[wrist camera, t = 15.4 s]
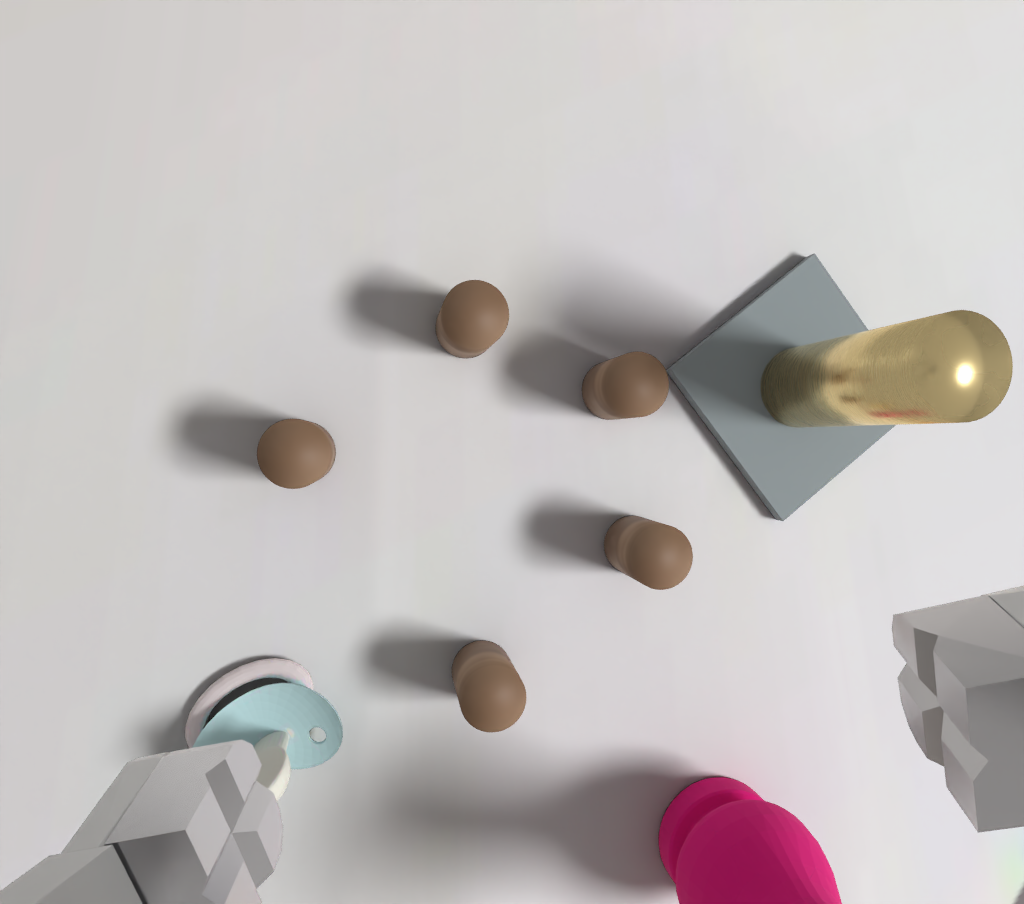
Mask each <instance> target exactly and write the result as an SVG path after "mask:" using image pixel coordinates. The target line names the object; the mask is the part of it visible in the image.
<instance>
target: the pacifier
mask: <svg viewBox="0 0 1024 904" xmlns="http://www.w3.org/2000/svg"><path fill="white" fill-rule="evenodd" d="M263 678H281V679H283V680H285V681H288V682H289V683H275V684H270V685H265V686H262V687H259V688H256V689H254V690H251V691H249V692H247V693H245V694H243V695H242V696H240V697H238V698H237V699H235V700H234V701H232V702H231V703H229V704H228V705H227V706H226V707H224V708H223V709H222V710H221V711H219V712H218V713H217V714H216V715H215V716H214V717H213V718H212V719H211V721H210V722H209V723H208V724H207V721H208V718H209V715H210V713H211V711H212V710H213V708H214V707H215V706H216V705H217V703H218V702H219V701H220V700H221V699H222V698H223V697H225V696H226V695H227V694H229V693H230V692H231V691H233V690H234V689H236V688H238V687H240V686H242V685H243V684H245V683H248V682H251V681H254V680H257V679H263ZM314 727H319V728H321V729H323V730H324V731H325V733H326V739H325V740H324V741H322V742H316V741H314V740H312V739H311V737H310V735H309V731H310V730H311V729H312V728H314ZM342 737H343V731H342V723H341V720H340V717H339V715H338V713H337V711H336V710H335V709H334V707H333V706H332V705H331V704H330V703H329V701H328V700H327V699H326V698H324V697H323V696H322V695H320V694H319V693H317V692H316V691H314V690H313V682H312V679H311V677H310V674H309V673H308V672H307V671H306V670H305V669H304V668H303V667H302V666H301V665H300V664H298V663H295V662H293V661H291V660H287V659H278V658H271V659H263V660H257V661H254V662H251V663H248V664H245V665H242V666H240V667H238V668H236V669H234V670H232V671H230V672H228V673H226V674H225V675H223V676H222V677H221V678H219V679H218V680H217V681H215V682H214V683H213V684H212V685H210V686H209V687H208V689H207V690H206V691H205V692H204V693H203V694H202V695H201V696H200V697H199V698H198V700H197V701H196V703H195V705H194V706H193V708H192V710H191V711H190V713H189V716H188V720H187V723H186V726H185V739H186V742H187V744H188V747H189V748H194V747H200V746H206V745H212V744H218V743H224V742H230V741H235V740H241V739H242V740H244V741H246V742H248V743H251V744H252V745H253V747H254V749H255V751H256V754H257V756H258V758H259V760H260V762H261V764H262V766H261V769H260V772H259V775H258V778H257V782H259V783H260V784H262V785H263V786H265V787H266V788H267V789H269V790H270V791H272V792H273V793H274V795H275V798H276V800H277V801H278V800H279V799H280V797H281V796H282V795H283V793H284V791H285V789H286V787H287V785H288V782H289V779H290V772H291V769H304V768H310V767H314V766H317V765H319V764H322V763H324V762H325V761H327V760H328V759H330V758H331V757H332V756H333V755H334V754H335V753H336V752H337V751H338V749H339V747H340V745H341V742H342Z"/></svg>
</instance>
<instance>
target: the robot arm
mask: <svg viewBox="0 0 1024 904" xmlns="http://www.w3.org/2000/svg"><path fill="white" fill-rule="evenodd" d="M892 633H893V642H894V646H895V648H896V649H897V650H898V652H899V653H900V654H901V656H902V657H903V658H904V660H905V661H906V662H907V663H906V665H905V667H904V668H903V670H902V671H901V673H900V675H899V676H898V684H899V691H900V697H901V703H902V706H903V709H904V713H905V716H906V719H907V722H908V725H909V727H910V729H911V731H912V734H913V736H914V738H915V740H916V742H917V743H918V745H919V746H920V748H921V749H922V751H923V753H924V754H925V756H926V757H927V758H928V759H930V760H932V761H934V762H936V763H938V764H940V765H942V766H944V768H945V777H946V786H947V788H948V790H949V791H950V792H951V794H952V795H953V797H954V798H955V800H956V801H957V803H958V804H959V806H960V807H961V808H962V810H963V811H964V813H965V814H966V816H967V817H968V819H969V820H970V821H971V823H972V824H973V826H974V827H975V829H976V830H977V832H985V831H993V830H1000V829H1008V828H1015V827H1023V826H1024V586H1020V587H1016V588H1012V589H1007V590H1003V591H998V592H994V593H990V594H985V595H981V596H979V597H975V598H970V599H965V600H961V601H956V602H951V603H947V604H942V605H937V606H932V607H928V608H923V609H918V610H914V611H909V612H904V613H900V614H895V615H893V623H892ZM261 766H262V764H261V762H260V760H259V758H258V756H257V754H256V751H255V749H254V747H253V745H252V744H251V743H248V742H246V741H244V740H242V739H241V740H235V741H230V742H224V743H218V744H212V745H206V746H200V747H194V748H189V749H183V750H177V751H173V752H164V753H160V754H155V755H150V756H145V757H140V758H137V759H135V760H132V761H130V762H128V763H127V764H126V765H125V766H124V768H123V769H122V770H121V772H120V773H119V775H118V776H117V777H116V779H115V780H114V781H113V783H112V784H111V786H110V787H109V788H108V790H107V791H106V792H105V794H104V795H103V796H102V798H101V799H100V801H99V802H98V803H97V805H96V806H95V807H94V809H93V810H92V812H91V813H90V814H89V816H88V817H87V818H86V820H85V821H84V822H83V824H82V825H81V827H80V828H79V829H78V831H77V832H76V833H75V835H74V836H73V837H72V839H71V840H70V842H69V843H68V844H67V846H66V847H65V848H64V850H63V851H62V853H61V854H57V855H51V856H48V857H47V858H45V859H44V860H43V861H41V862H40V863H39V864H37V865H36V866H34V867H33V868H32V869H30V870H29V871H27V872H26V873H25V874H23V875H22V876H21V877H19V878H18V879H16V880H15V881H14V882H12V883H11V884H9V885H8V886H7V887H5V888H4V889H2V890H1V891H0V904H262V901H261V898H260V896H259V894H258V892H257V888H258V887H259V886H260V885H261V884H262V883H263V882H264V881H265V880H266V879H267V878H268V877H269V876H270V875H271V874H272V873H273V872H274V870H275V868H276V865H277V862H278V859H279V857H280V854H281V850H282V837H283V823H282V818H281V812H280V808H279V805H278V803H277V800H276V798H275V795H274V793H273V792H272V791H270V790H269V789H267V788H266V787H265V786H263V785H262V784H260V783H259V782H257V778H258V775H259V772H260V769H261Z"/></svg>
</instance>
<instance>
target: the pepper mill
mask: <svg viewBox="0 0 1024 904" xmlns="http://www.w3.org/2000/svg"><path fill="white" fill-rule="evenodd" d="M659 850H660V856H661V859H662V862H663V864H664V866H665V868H666V870H667V872H668V874H669V875H670V877H671V878H672V880H673V881H674V883H675V884H676V891H677V896H678V900H679V904H842V903H841V899H840V896H839V892H838V889H837V885H836V881H835V878H834V874H833V872H832V869H831V867H830V865H829V863H828V861H827V859H826V856H825V854H824V853H823V851H822V849H821V847H820V845H819V843H818V842H817V840H816V839H815V838H814V837H813V836H812V834H811V833H810V832H809V831H808V829H807V828H806V827H805V826H804V825H803V823H802V822H801V821H799V820H798V819H797V818H796V817H795V816H794V815H793V814H791V813H790V812H788V811H787V810H785V809H783V808H782V807H780V806H778V805H775V804H772V803H770V802H766V801H764V800H763V799H762V798H761V797H760V796H759V795H758V794H757V793H756V792H755V791H753V790H752V789H751V788H750V787H748V786H747V785H745V784H744V783H742V782H740V781H737V780H734V779H731V778H725V777H714V778H707V779H703V780H701V781H698V782H695V783H693V784H691V785H690V786H688V787H687V788H686V789H684V790H683V791H681V792H680V793H679V794H678V795H677V796H676V798H675V799H674V800H673V801H672V802H671V804H670V805H669V807H668V808H667V810H666V812H665V814H664V816H663V819H662V822H661V826H660V830H659Z"/></svg>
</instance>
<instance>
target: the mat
mask: <svg viewBox="0 0 1024 904" xmlns="http://www.w3.org/2000/svg"><path fill="white" fill-rule="evenodd" d="M864 331H868V329H867V328H866V326H865V325H864V323H863V322H862V321H861V319H860V318H859V316H858V315H857V313H856V312H855V311H854V309H853V308H852V306H851V305H850V303H849V302H848V301H847V299H846V298H845V296H844V295H843V293H842V292H841V291H840V289H839V288H838V286H837V285H836V283H835V282H834V281H833V279H832V278H831V276H830V275H829V273H828V272H827V271H826V269H825V268H824V266H823V265H822V263H821V262H820V261H819V259H818V258H817V256H816V255H815V254H812V255H810V256H808V257H806V258H805V259H804V260H802V261H801V262H800V263H799V264H797V265H796V266H795V267H794V268H792V269H791V270H790V271H789V272H787V273H786V274H785V275H784V276H782V277H781V278H780V279H779V280H777V281H776V282H775V283H774V284H772V285H771V286H770V287H769V288H767V289H766V290H765V291H764V292H763V293H761V294H760V295H759V296H758V297H756V298H755V299H754V300H753V301H751V302H750V303H749V304H748V305H746V306H745V307H744V308H743V309H741V310H740V311H739V312H738V313H736V314H735V315H734V316H733V317H731V318H730V319H729V320H728V321H727V322H725V323H724V324H723V325H722V326H720V327H719V328H718V329H717V330H715V331H714V332H713V333H712V334H710V335H709V336H708V337H707V338H705V339H704V340H703V341H702V342H700V343H699V344H698V345H697V346H695V347H694V348H693V349H692V350H691V351H689V352H688V353H687V354H686V355H684V356H683V357H682V358H681V359H679V360H678V361H677V362H676V363H674V364H673V365H672V366H671V367H669V368H668V369H667V370H666V372H667V373H668V374H669V376H670V377H671V379H672V380H673V381H674V383H675V384H676V385H677V387H678V388H679V389H680V391H681V392H682V393H683V395H684V396H685V397H686V399H687V400H688V402H689V403H690V404H691V406H692V407H693V408H694V410H695V411H696V412H697V414H698V415H699V416H700V418H701V419H702V420H703V422H704V423H705V424H706V426H707V427H708V429H709V430H710V431H711V433H712V434H713V435H714V437H715V438H716V439H717V441H718V442H719V443H720V445H721V446H722V447H723V449H724V450H725V452H726V453H727V454H728V456H729V457H730V458H731V460H732V461H733V462H734V464H735V465H736V466H737V468H738V469H739V470H740V472H741V473H742V474H743V476H744V477H745V479H746V480H747V481H748V483H749V484H750V485H751V487H752V488H753V489H754V491H755V492H756V493H757V495H758V496H759V497H760V499H761V500H762V502H763V503H764V504H765V506H766V507H767V508H768V510H769V511H770V512H771V514H772V515H773V516H774V518H775V519H776V520H781V521H784V520H785V519H786V518H787V517H789V516H790V515H791V514H792V513H793V512H794V511H796V510H797V509H798V508H799V507H800V506H801V505H803V504H804V503H805V502H806V501H807V500H809V499H810V498H811V497H812V496H813V495H814V494H816V493H817V492H818V491H819V490H820V489H821V488H823V487H824V486H825V485H826V484H827V483H828V482H830V481H831V480H832V479H833V478H834V477H835V476H837V475H838V474H839V473H840V472H841V471H842V470H844V469H845V468H846V467H847V466H848V465H850V464H851V463H852V462H853V461H854V460H855V459H857V458H858V457H859V456H860V455H861V454H862V453H864V452H865V451H866V450H867V449H868V448H869V447H871V446H872V445H873V444H874V443H875V442H876V441H878V440H879V439H880V438H881V437H882V436H883V435H885V434H886V433H887V432H888V431H889V430H891V429H892V428H893V427H894V426H895V425H865V426H834V427H802V428H796V427H789V426H786V425H784V424H782V423H780V422H778V421H777V420H775V419H774V418H773V417H772V416H771V415H770V413H769V412H768V411H767V409H766V407H765V405H764V403H763V400H762V396H761V379H762V375H763V372H764V370H765V367H766V366H767V364H768V363H769V361H770V360H771V359H772V358H773V357H774V356H775V355H777V354H778V353H780V352H782V351H783V350H786V349H789V348H794V347H798V346H803V345H807V344H811V343H816V342H820V341H824V340H829V339H833V338H838V337H842V336H846V335H851V334H855V333H859V332H864Z"/></svg>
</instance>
